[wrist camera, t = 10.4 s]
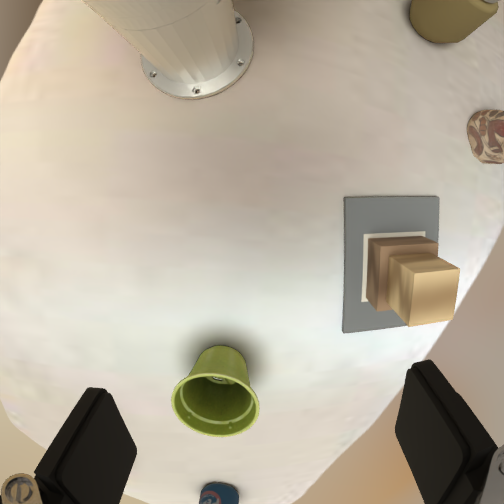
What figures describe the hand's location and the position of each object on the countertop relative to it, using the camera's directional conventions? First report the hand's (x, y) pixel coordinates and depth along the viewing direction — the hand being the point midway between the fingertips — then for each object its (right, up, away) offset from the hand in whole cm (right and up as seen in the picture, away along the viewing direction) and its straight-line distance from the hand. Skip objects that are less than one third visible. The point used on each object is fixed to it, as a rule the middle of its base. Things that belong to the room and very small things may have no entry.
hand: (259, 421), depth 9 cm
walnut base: (+16, +3, +26) cm, 31 cm away
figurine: (+30, +20, +23) cm, 43 cm away
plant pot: (-4, -9, +30) cm, 32 cm away
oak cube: (+16, +2, +22) cm, 27 cm away
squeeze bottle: (+22, +34, +19) cm, 45 cm away
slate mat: (+16, +4, +27) cm, 31 cm away
